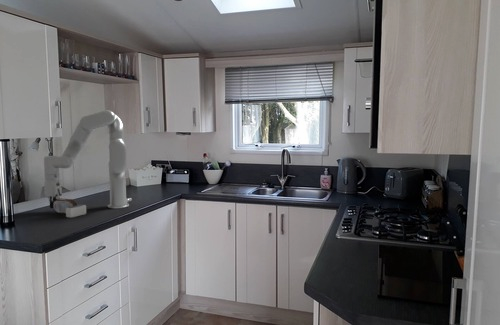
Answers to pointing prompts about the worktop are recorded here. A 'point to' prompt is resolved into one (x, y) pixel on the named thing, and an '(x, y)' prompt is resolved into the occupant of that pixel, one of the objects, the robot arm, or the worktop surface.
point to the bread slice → (63, 205)
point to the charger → (75, 210)
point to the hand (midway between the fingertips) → (53, 207)
